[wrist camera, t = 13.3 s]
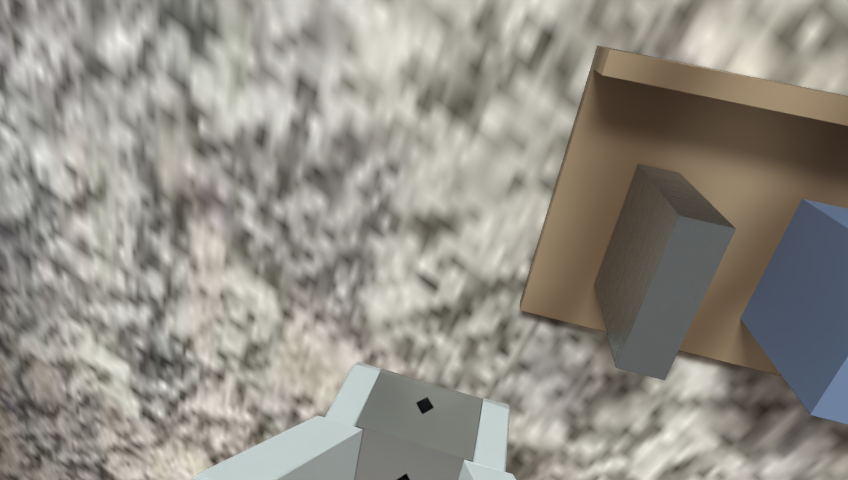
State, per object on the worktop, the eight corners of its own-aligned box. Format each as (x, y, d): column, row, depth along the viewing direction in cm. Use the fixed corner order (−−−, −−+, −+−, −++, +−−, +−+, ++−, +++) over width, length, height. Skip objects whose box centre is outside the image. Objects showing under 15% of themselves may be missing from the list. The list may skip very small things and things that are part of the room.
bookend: (594, 284, 23) (615, 367, 17) (638, 163, 20) (679, 215, 15) (631, 292, 22) (664, 380, 17) (679, 172, 20) (736, 229, 15)
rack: (520, 301, 25) (518, 395, 18) (597, 45, 20) (630, 56, 14) (896, 395, 23) (1031, 532, 17) (1078, 142, 18) (1360, 204, 12)
